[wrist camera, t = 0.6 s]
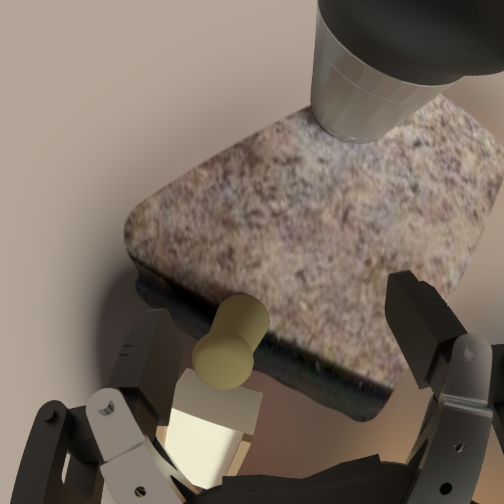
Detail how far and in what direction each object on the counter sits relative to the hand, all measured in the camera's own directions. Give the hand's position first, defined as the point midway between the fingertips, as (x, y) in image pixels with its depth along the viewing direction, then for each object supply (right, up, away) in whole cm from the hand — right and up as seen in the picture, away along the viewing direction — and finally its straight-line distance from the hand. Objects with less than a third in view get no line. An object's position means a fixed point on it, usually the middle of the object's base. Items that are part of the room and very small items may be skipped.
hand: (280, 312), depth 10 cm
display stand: (-6, -21, +26) cm, 34 cm away
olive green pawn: (-2, -5, +23) cm, 24 cm away
